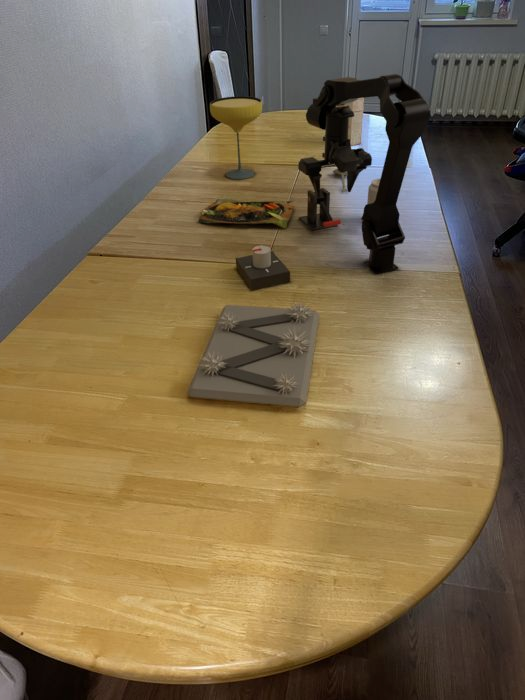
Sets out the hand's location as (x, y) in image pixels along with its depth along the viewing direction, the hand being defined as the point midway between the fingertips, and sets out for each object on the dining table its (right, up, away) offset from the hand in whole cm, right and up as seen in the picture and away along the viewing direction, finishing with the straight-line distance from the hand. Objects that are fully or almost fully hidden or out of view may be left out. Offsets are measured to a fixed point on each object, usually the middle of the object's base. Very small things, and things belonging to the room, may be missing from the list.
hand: (333, 194), depth 140 cm
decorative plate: (-20, -43, -36) cm, 60 cm away
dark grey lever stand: (-3, -5, +14) cm, 15 cm away
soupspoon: (+9, +17, +42) cm, 46 cm away
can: (+15, -4, +14) cm, 21 cm away
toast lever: (-2, -3, +9) cm, 9 cm away
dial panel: (-19, -23, -10) cm, 32 cm away
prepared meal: (-24, -1, +21) cm, 31 cm away
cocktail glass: (-28, +23, +53) cm, 64 cm away
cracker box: (+17, +47, +83) cm, 97 cm away
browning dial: (-19, -21, -12) cm, 31 cm away
